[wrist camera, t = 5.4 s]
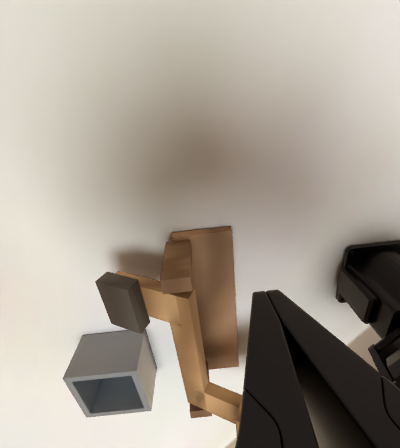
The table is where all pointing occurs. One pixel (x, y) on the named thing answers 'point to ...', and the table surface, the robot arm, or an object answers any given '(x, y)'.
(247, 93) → the table surface
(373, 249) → the robot arm
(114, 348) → the grey open box
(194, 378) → the catapult lever
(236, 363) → the frame
